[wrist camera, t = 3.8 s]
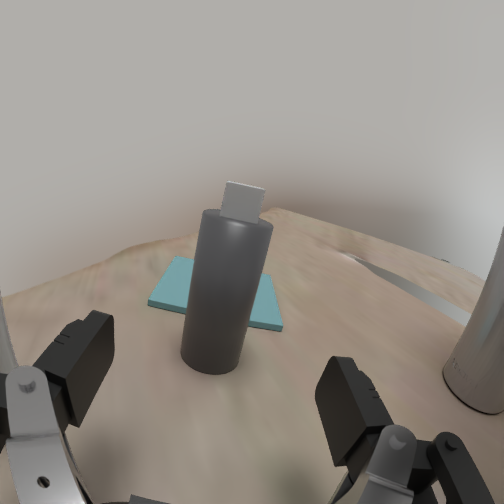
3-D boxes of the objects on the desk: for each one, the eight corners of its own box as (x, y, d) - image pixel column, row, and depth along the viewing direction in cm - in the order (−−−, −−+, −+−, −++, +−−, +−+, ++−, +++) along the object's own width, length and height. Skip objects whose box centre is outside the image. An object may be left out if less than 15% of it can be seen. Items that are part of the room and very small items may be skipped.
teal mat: (268, 279, 37) (270, 275, 36) (281, 331, 25) (283, 325, 25) (175, 260, 35) (175, 255, 35) (147, 305, 24) (148, 299, 24)
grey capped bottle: (238, 343, 22) (276, 189, 19) (238, 378, 18) (287, 197, 15) (185, 333, 22) (213, 176, 18) (176, 367, 18) (205, 179, 14)
